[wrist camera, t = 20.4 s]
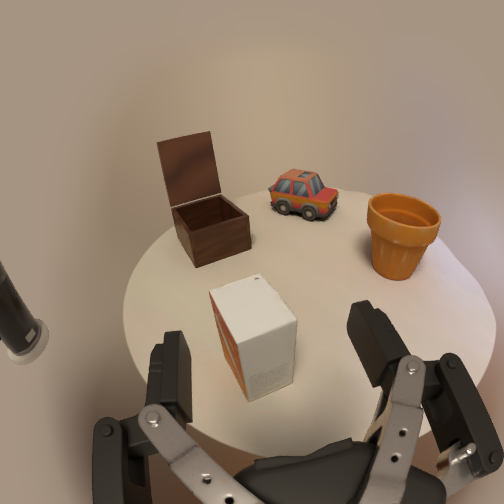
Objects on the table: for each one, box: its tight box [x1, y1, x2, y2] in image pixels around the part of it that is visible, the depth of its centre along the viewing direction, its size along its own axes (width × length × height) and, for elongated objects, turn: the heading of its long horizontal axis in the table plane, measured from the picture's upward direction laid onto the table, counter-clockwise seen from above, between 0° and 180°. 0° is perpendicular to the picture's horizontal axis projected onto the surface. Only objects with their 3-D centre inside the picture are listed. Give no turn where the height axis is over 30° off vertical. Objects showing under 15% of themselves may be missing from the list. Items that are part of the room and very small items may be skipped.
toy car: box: [268, 169, 339, 221], centre depth 70 cm, size 12×17×10 cm
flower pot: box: [367, 193, 441, 280], centre depth 46 cm, size 14×14×13 cm
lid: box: [157, 131, 221, 207], centre depth 59 cm, size 15×13×1 cm
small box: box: [209, 273, 297, 402], centre depth 30 cm, size 8×6×13 cm
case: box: [171, 194, 251, 268], centre depth 59 cm, size 15×13×8 cm
